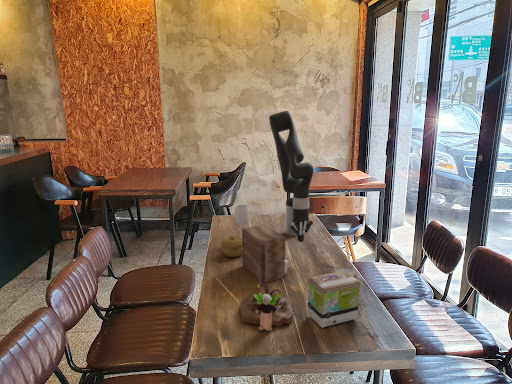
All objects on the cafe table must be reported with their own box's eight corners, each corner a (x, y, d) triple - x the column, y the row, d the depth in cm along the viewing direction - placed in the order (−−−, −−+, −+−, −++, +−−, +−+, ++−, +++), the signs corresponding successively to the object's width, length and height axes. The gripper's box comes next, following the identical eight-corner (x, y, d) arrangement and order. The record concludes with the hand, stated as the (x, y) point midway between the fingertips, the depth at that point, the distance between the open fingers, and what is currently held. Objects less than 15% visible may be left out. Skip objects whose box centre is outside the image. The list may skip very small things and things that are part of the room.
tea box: (322, 329, 126) (323, 289, 122) (306, 314, 135) (307, 276, 131) (358, 319, 132) (361, 280, 128) (341, 305, 141) (343, 268, 137)
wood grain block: (263, 261, 180) (263, 224, 176) (284, 277, 163) (285, 237, 159) (242, 266, 175) (242, 228, 171) (262, 282, 159) (262, 241, 154)
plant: (242, 297, 148) (241, 270, 145) (292, 298, 147) (292, 271, 144) (236, 326, 128) (235, 296, 126) (293, 328, 127) (294, 298, 125)
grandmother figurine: (255, 331, 125) (255, 297, 122) (255, 325, 128) (255, 291, 125) (278, 331, 124) (278, 297, 122) (277, 325, 128) (278, 291, 125)
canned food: (355, 295, 148) (356, 269, 145) (353, 305, 141) (354, 278, 138) (335, 292, 150) (336, 266, 148) (332, 301, 143) (333, 275, 140)
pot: (227, 249, 196) (226, 231, 193) (248, 252, 192) (247, 233, 189) (217, 257, 185) (216, 238, 182) (239, 261, 181) (239, 241, 179)
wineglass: (250, 246, 199) (249, 208, 194) (233, 246, 199) (233, 208, 195) (250, 240, 208) (250, 204, 203) (235, 240, 208) (234, 204, 203)
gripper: (307, 202, 178) (307, 236, 182) (284, 206, 172) (284, 241, 176) (317, 206, 171) (316, 241, 176) (293, 210, 165) (293, 247, 170)
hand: (300, 241), depth 176 cm, fingers closed
